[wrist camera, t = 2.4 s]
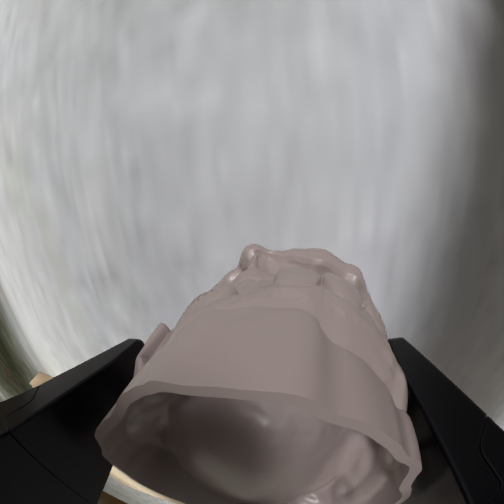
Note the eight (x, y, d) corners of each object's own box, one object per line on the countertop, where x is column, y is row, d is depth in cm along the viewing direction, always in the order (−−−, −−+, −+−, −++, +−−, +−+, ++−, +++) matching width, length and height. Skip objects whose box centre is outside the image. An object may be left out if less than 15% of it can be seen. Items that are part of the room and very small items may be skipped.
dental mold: (462, 293, 6) (539, 433, 2) (346, 428, 9) (338, 540, 5) (192, 176, 7) (22, 255, 2) (153, 357, 10) (84, 460, 5)
